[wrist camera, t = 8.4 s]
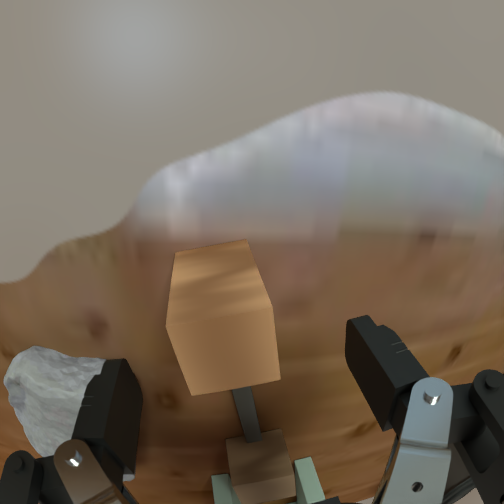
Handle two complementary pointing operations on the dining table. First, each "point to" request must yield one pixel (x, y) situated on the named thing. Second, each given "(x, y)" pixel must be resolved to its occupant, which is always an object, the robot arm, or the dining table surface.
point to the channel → (305, 485)
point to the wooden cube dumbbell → (231, 356)
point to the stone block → (49, 395)
